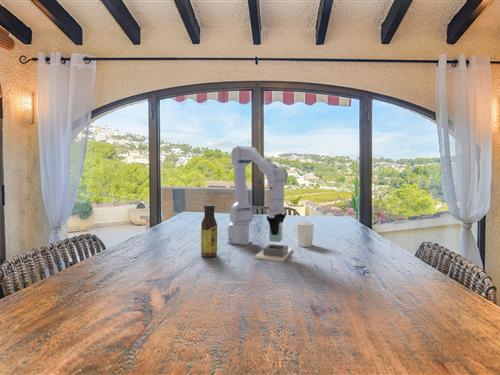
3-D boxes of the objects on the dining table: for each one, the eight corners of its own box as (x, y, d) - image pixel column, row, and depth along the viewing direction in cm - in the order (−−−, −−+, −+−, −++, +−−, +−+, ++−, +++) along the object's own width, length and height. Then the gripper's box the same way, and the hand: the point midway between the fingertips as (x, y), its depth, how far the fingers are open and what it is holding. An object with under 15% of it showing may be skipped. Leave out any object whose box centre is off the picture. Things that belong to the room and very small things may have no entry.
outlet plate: (255, 258, 116) (255, 249, 116) (267, 248, 131) (267, 240, 131) (283, 261, 112) (283, 252, 112) (292, 250, 127) (292, 242, 127)
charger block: (269, 241, 118) (269, 223, 118) (272, 238, 122) (272, 221, 121) (279, 242, 117) (279, 223, 116) (282, 239, 120) (282, 222, 120)
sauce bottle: (214, 258, 116) (214, 206, 114) (198, 257, 117) (198, 205, 116) (219, 253, 122) (219, 204, 121) (204, 252, 123) (204, 203, 122)
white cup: (312, 243, 140) (313, 221, 139) (314, 247, 132) (314, 225, 132) (295, 242, 141) (295, 221, 140) (296, 247, 133) (296, 224, 132)
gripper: (281, 201, 110) (281, 238, 111) (290, 197, 123) (290, 230, 124) (263, 200, 112) (262, 236, 113) (274, 197, 126) (273, 229, 127)
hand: (276, 233), depth 119 cm, fingers closed on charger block, 4 cm apart
